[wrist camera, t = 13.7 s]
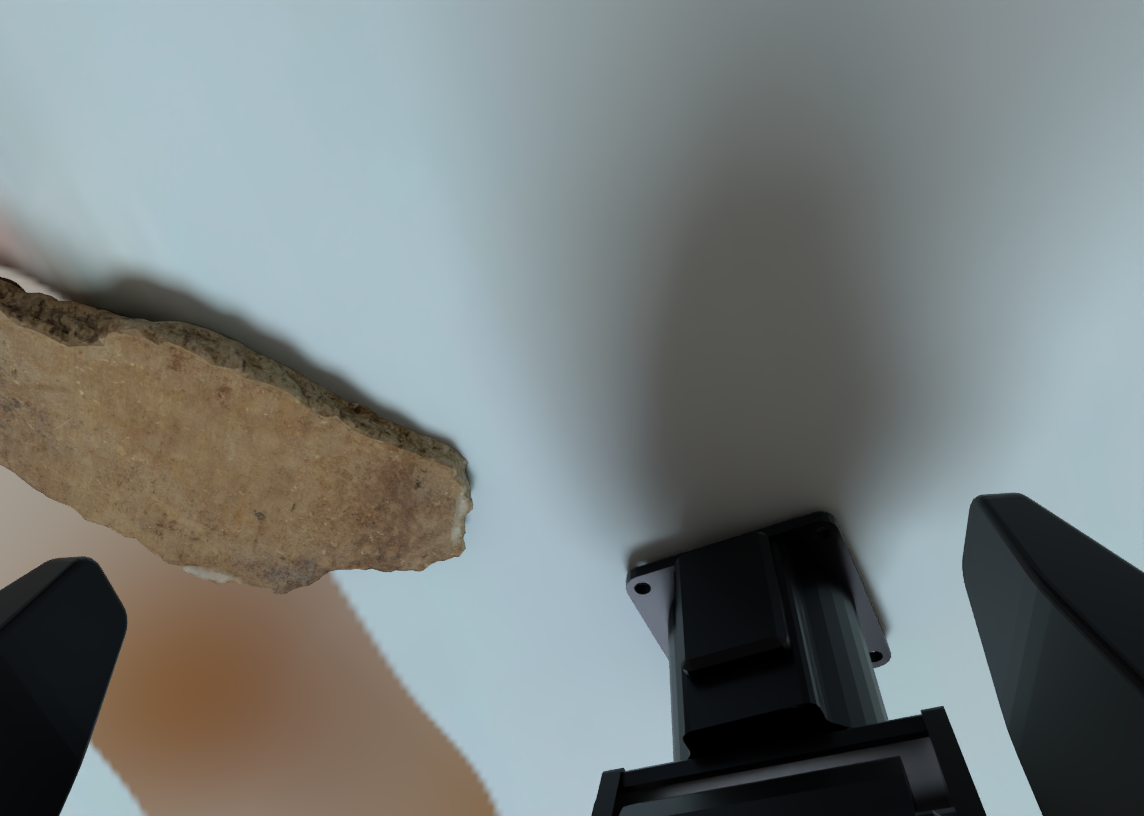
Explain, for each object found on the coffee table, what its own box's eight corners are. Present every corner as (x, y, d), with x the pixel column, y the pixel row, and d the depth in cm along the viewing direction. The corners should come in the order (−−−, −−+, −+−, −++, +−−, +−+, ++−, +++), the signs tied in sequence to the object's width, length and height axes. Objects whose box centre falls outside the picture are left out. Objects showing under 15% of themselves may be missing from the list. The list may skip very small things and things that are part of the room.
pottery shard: (503, 353, 25) (-72, 244, 22) (499, 404, 22) (-137, 291, 20) (456, 561, 29) (-24, 490, 27) (449, 620, 27) (-74, 548, 25)
